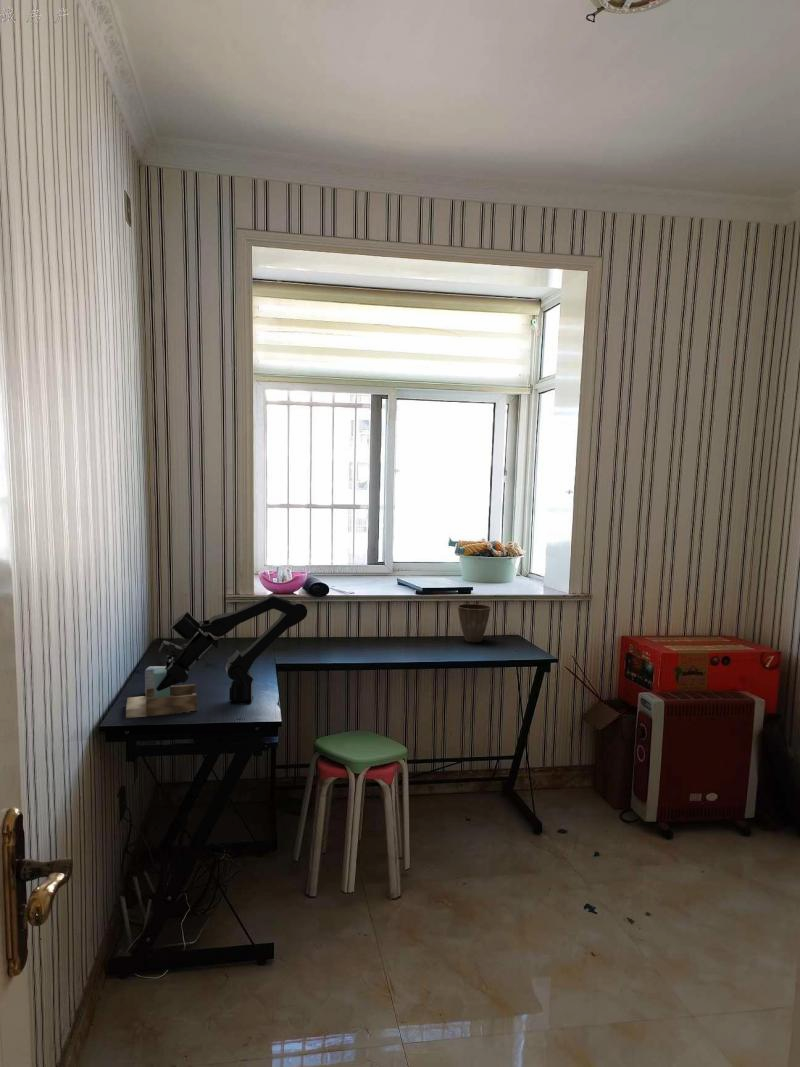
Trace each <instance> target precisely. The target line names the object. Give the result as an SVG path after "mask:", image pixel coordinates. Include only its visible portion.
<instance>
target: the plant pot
mask: <svg viewBox="0 0 800 1067" xmlns="http://www.w3.org/2000/svg"><path fill="white" fill-rule="evenodd" d="M457 610H458V616H459V617H458V618H459V622H460V627H461V631H462V634H463V637H464V640H465V642H468V643H481V642H482V640H483V638H484V636H485V632H486V629H487V626H488V623H489V617H490V614H491V613H490V612H491V606H489V605H486V604H476V603H464V604H463V603H462V604H459V605H457Z"/></svg>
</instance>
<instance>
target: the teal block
mask: <svg viewBox="0 0 800 1067" xmlns="http://www.w3.org/2000/svg"><path fill="white" fill-rule="evenodd" d="M166 674H167V669H164V670H154V698H160V697H170V687H168V688H165V689H163V690H161V691H157V690H156V688H157V687H158V685H159V684H160V682H161V681H162V680H163V678H164V677H165V676H166Z"/></svg>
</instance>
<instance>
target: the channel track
mask: <svg viewBox="0 0 800 1067" xmlns="http://www.w3.org/2000/svg"><path fill="white" fill-rule="evenodd" d="M190 711H197V712H198V694H197V693H196V684H194V683H193V684H182V685H173V686H170V697H160V698H154V688H147V695H142V696H130V697H127V699H126V708H125V718H126V719H132V718H140V717H141V718H143V717H152V716H163V715H172V714H175V713H176V714H183V713H182V712H186V713H191V712H190Z"/></svg>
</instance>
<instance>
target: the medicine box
mask: <svg viewBox="0 0 800 1067" xmlns="http://www.w3.org/2000/svg"><path fill="white" fill-rule="evenodd" d="M165 668H166V665H163V666H162V665H161V666H159V665H158V666H155V665H154V666H153V665H152V666H151V665H150V666H148V667H147V668H145V670H144V694H145V695H144V696H147V688H154V670H164V669H165ZM172 686H174V685H172Z"/></svg>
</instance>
